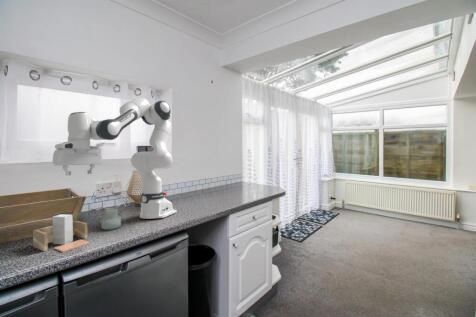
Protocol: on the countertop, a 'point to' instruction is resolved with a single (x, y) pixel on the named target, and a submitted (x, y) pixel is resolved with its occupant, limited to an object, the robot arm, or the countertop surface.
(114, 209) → the air freshener
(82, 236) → the open wooden frame
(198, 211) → the countertop surface
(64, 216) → the skincare box
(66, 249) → the tile
